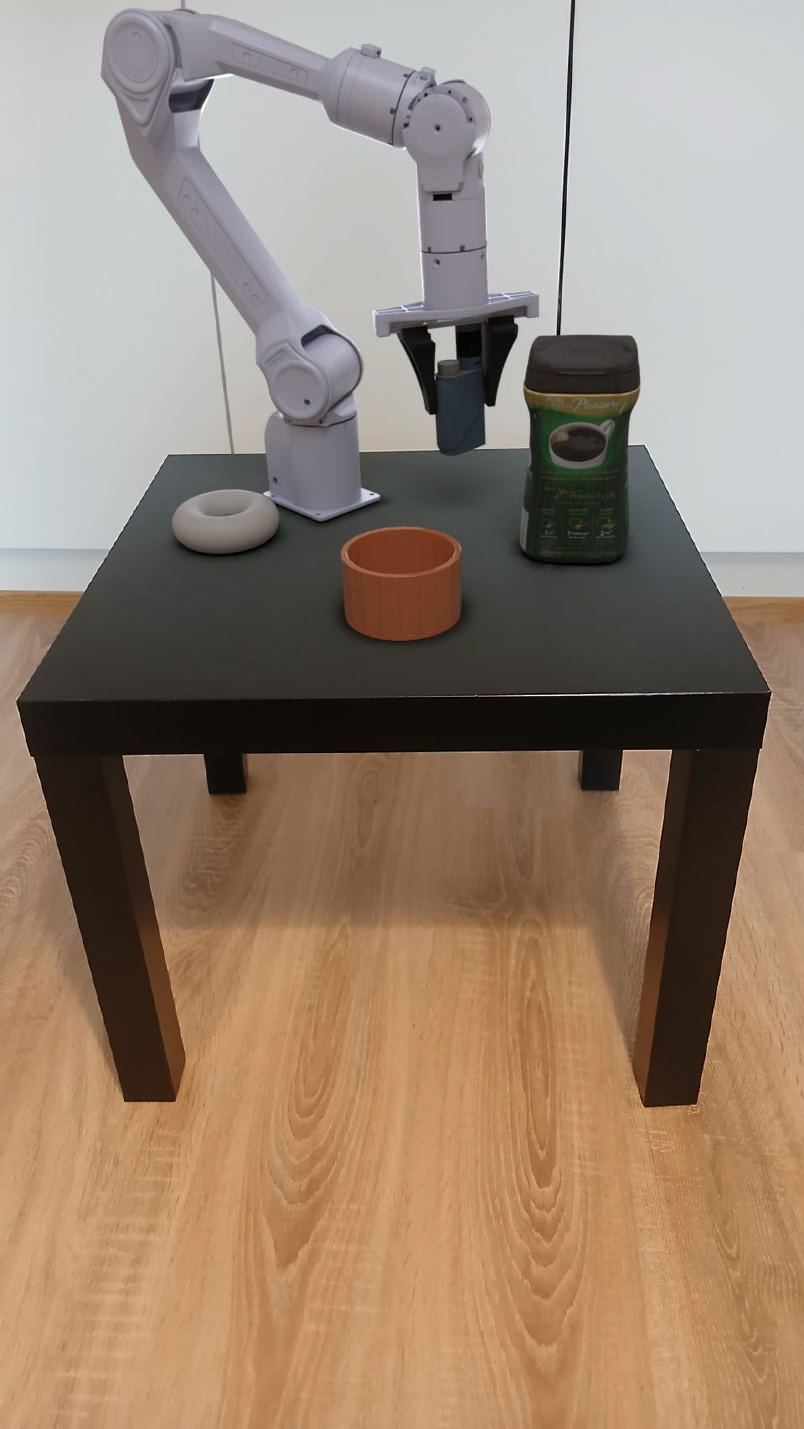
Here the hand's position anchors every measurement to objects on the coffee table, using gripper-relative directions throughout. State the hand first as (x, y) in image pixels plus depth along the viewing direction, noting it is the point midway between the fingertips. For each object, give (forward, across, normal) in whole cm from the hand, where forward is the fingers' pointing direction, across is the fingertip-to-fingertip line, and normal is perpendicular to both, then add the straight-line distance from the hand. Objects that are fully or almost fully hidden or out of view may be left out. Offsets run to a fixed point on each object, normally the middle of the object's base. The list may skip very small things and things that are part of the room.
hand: (460, 407), depth 97 cm
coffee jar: (+11, -7, +10) cm, 17 cm away
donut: (+10, +23, -1) cm, 25 cm away
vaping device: (+4, 0, 0) cm, 4 cm away
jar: (+10, +10, +18) cm, 23 cm away
